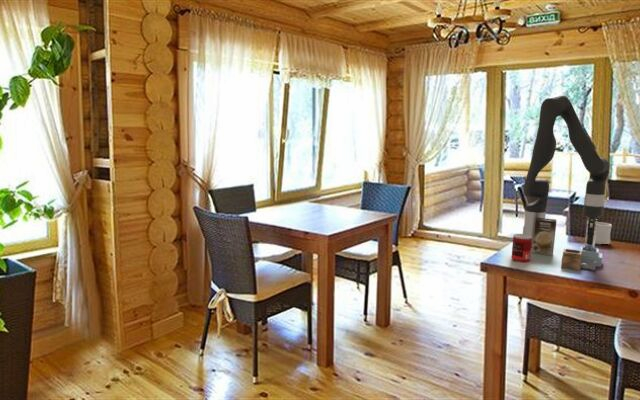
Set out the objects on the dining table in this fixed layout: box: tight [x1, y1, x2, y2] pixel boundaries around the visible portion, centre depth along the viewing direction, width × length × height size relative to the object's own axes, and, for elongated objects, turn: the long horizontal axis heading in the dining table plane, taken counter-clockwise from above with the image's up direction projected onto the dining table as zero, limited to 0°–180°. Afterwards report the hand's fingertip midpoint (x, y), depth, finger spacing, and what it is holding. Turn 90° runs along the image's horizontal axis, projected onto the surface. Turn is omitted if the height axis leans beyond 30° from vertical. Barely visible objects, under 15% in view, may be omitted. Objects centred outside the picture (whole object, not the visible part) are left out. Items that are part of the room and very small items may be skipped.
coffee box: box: [531, 217, 557, 256], centre depth 229 cm, size 9×6×16 cm
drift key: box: [580, 260, 597, 271], centre depth 207 cm, size 10×4×3 cm, turn 60°
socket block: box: [560, 247, 582, 272], centre depth 209 cm, size 7×10×7 cm
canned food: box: [511, 233, 532, 263], centre depth 217 cm, size 8×8×11 cm
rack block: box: [579, 246, 603, 268], centre depth 214 cm, size 10×8×6 cm
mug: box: [595, 221, 613, 245], centre depth 252 cm, size 12×9×10 cm
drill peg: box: [583, 226, 597, 251], centre depth 213 cm, size 4×4×10 cm
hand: (589, 243), depth 213 cm, fingers closed on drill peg, 3 cm apart
